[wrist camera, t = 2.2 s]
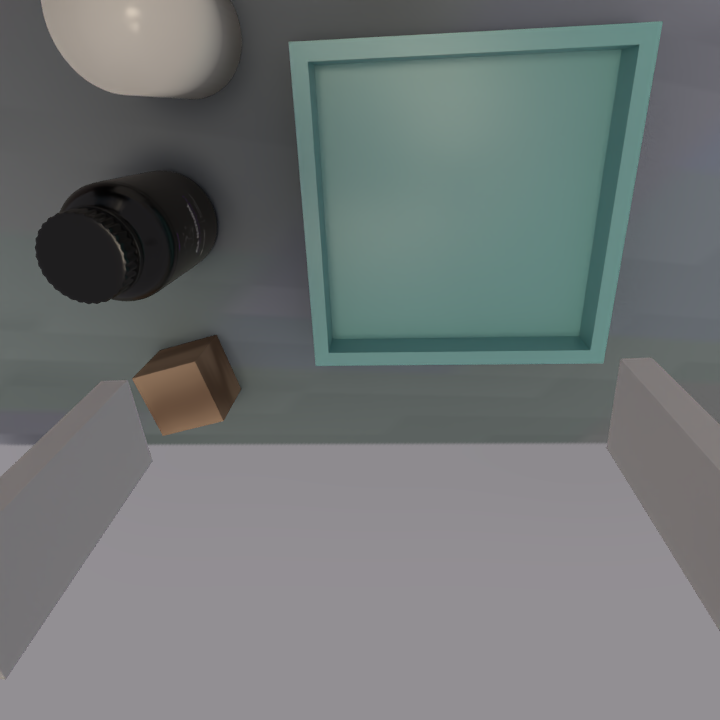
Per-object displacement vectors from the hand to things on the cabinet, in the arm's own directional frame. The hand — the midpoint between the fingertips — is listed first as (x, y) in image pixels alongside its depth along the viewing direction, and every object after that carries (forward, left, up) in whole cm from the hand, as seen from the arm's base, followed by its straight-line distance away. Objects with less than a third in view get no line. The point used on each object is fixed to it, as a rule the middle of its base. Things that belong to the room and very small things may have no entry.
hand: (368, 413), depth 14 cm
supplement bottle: (-1, -15, -25) cm, 29 cm away
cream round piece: (-12, -12, -25) cm, 30 cm away
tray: (-1, +5, -25) cm, 25 cm away
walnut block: (+11, -15, -25) cm, 31 cm away
